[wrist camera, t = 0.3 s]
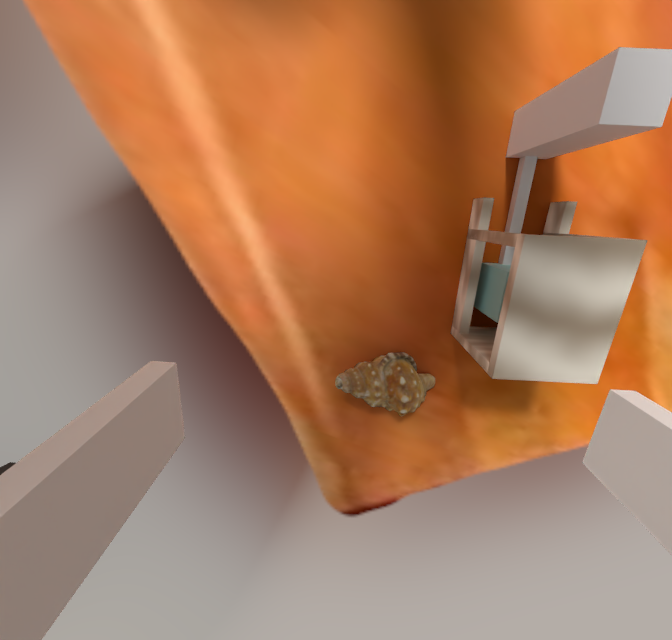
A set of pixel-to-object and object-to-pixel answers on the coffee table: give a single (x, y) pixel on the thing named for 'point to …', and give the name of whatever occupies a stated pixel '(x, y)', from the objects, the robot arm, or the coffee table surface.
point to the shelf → (547, 299)
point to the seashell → (387, 382)
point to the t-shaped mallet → (578, 133)
